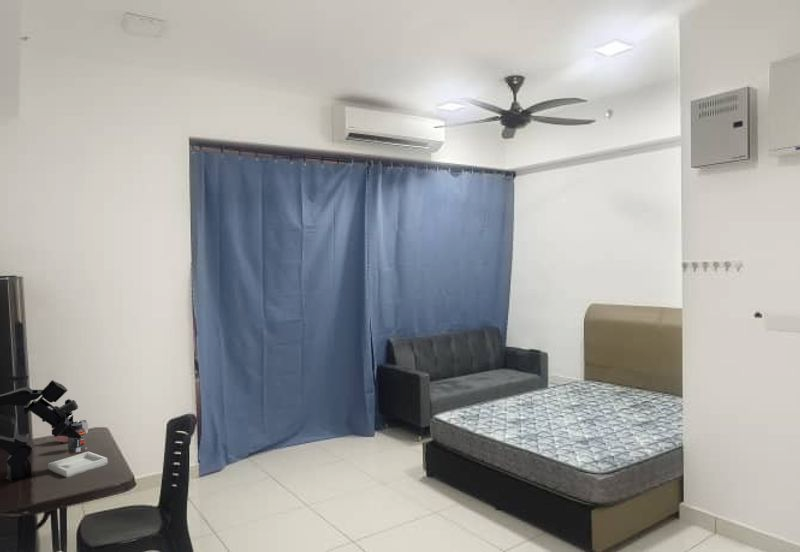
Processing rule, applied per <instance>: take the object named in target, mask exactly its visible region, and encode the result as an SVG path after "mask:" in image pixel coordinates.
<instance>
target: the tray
mask: <svg viewBox="0 0 800 552" xmlns="http://www.w3.org/2000/svg"><path fill="white" fill-rule="evenodd" d="M108 464H109V463H108V457H105V456H102V455H100V454H97V453H94V452H91V451H85V452H84V453H81V454H77V455H71V456H68V457H65V458H61V459H59V460H55V461H52V462H48V470H49V471H51V472H53V473H55V474H58V475H60V476H63V477H64V478H71V477H73V476H77V475H79V474H82V473H86V472H89V471H91V470H95V469H98V468H102V467H104V466H106V465H108Z"/></svg>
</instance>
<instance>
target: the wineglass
mask: <svg viewBox="0 0 800 552" xmlns="http://www.w3.org/2000/svg"><path fill="white" fill-rule="evenodd" d="M74 423H82V427H83V428H84V429H85V436H86V435H87V434H88V432H89V425H88V421H87V420H86V419H81V420H76V421H74ZM87 449H88V447H87V446H86V450H87Z"/></svg>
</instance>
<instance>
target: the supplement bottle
mask: <svg viewBox="0 0 800 552" xmlns="http://www.w3.org/2000/svg"><path fill="white" fill-rule="evenodd" d="M72 428H73V429H74V430H75V431H76V432H78V433H79V435H80V436H81V437H80V438H79V439H77V438H72V437H68V442H67V451H68V452H67V454H68V455H71V456H75V455H78V454H82V453H85V452H87V451H86V450H87V449H86V447H87V445H86V444H87V443H86V435H85V429H84V428H83V427H82V423H74V424H72Z"/></svg>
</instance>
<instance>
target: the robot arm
mask: <svg viewBox="0 0 800 552" xmlns="http://www.w3.org/2000/svg"><path fill="white" fill-rule="evenodd" d="M68 390H69V389H67V387H65V385H64V384H61V383H59V382H58V381H55V380H53V379H52V380H50V381H49V383H48V384H47V385H46V386H45V387H44V388H43V389H32V388H31V387H28V386H23V387H21V388H17V389H14V390H11V391H8V392H5V393H4V394H3V393H1V394H0V407H2V406H13V407H17V406H18V407H19V406H20V407H21V406H23V415H24V416H26V415H27V414H28V413H29V412H31V413H33V414H34V415H35V416H37V417H38V418H39V419H41V421H42V423H47V424H48V425H50V428H52V429H51V435H52V436H54V437H57V436H65V437H72V438H77V439H79V438H80V437H81V436H80V435H79V433H78V432H76V431H75V430H74V429H73V428H72V424H74V422H75V421H74V415H73V412H74V411H76V410H78V408H79V406H78V404H77V401H76V400H75V399H70V398H68V399H66V400H65V401H64V404H63V405H61V406H58V405H55V406H54V405H52V403H53V402H54V403H57V402H58V401H59V400H60V399H61V398H62V397H63V396H64V395H65V394H66V393H67V392H68ZM34 448H35V444H34V441H33V440H32V439H30V436H28V437H26V436H22V435H21V434H16V436H15V437H7V436H4V435H0V450H2V451H3V452H5V453H6V454H8V458H7V459H6V465H7V466H6V469H7V476H5V479H6V480H8V481H10V482H12V483H15V482H17V481H21V480H24V479H27V478H31V477H32V476H33V474H32V462H31V461H30V459H29V458H28V457H29V456H31V454H32V452H33V450H34Z"/></svg>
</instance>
